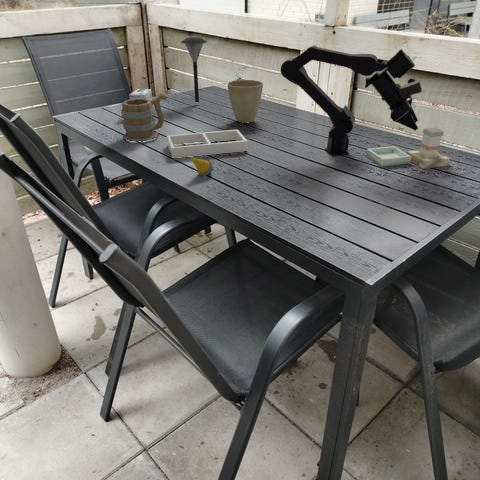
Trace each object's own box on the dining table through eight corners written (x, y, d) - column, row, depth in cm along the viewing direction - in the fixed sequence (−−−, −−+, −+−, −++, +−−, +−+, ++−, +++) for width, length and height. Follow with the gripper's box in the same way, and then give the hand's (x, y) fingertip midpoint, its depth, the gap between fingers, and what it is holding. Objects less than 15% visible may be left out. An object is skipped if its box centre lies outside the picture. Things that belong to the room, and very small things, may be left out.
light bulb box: (139, 112, 203) (137, 88, 198) (154, 113, 203) (151, 88, 197) (131, 119, 194) (128, 94, 189) (146, 119, 194) (143, 94, 188)
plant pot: (268, 119, 192) (269, 81, 184) (251, 128, 182) (251, 88, 173) (239, 114, 199) (239, 78, 191) (221, 122, 188) (220, 84, 180)
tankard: (134, 145, 164) (129, 105, 156) (118, 137, 172) (112, 98, 164) (179, 134, 175) (176, 96, 167) (162, 127, 183) (158, 90, 176)
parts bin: (172, 159, 152) (171, 148, 150) (167, 146, 163) (166, 135, 161) (247, 151, 158) (247, 141, 156) (237, 139, 169) (237, 129, 167)
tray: (381, 166, 145) (383, 159, 144) (365, 155, 154) (366, 148, 152) (410, 163, 147) (411, 156, 146) (392, 152, 156) (393, 146, 155)
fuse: (424, 164, 146) (432, 132, 141) (416, 160, 150) (423, 128, 144) (436, 163, 147) (443, 131, 142) (428, 159, 151) (435, 127, 145)
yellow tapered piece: (216, 178, 139) (194, 162, 132) (204, 181, 142) (182, 166, 135) (219, 164, 141) (198, 147, 134) (207, 167, 144) (186, 151, 137)
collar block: (422, 168, 143) (424, 161, 142) (405, 158, 152) (406, 151, 150) (448, 165, 146) (450, 158, 144) (430, 155, 154) (431, 148, 152)
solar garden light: (181, 107, 210) (176, 39, 194) (188, 101, 220) (184, 35, 205) (206, 108, 208) (203, 39, 193) (212, 102, 219) (209, 36, 203)
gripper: (409, 76, 129) (440, 117, 132) (409, 65, 144) (438, 102, 147) (377, 101, 135) (408, 140, 138) (381, 88, 150) (408, 123, 153)
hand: (416, 125), depth 144 cm, fingers open, 9 cm apart
